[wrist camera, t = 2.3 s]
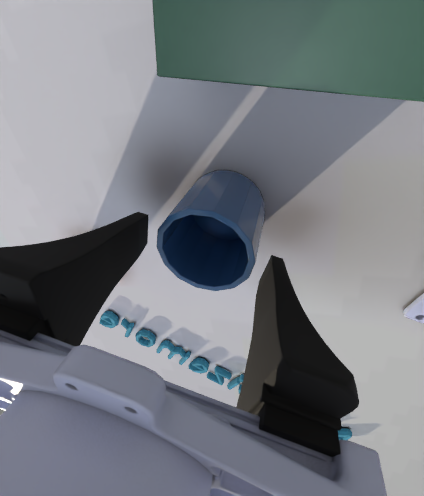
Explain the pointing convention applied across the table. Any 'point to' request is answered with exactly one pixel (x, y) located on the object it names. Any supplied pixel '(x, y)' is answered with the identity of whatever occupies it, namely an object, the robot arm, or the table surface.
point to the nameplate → (196, 365)
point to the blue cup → (214, 231)
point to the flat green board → (295, 44)
